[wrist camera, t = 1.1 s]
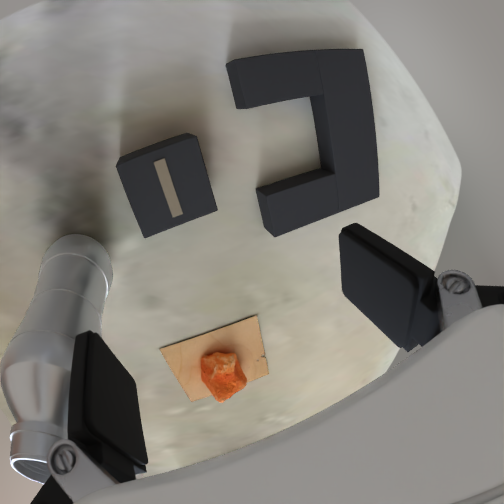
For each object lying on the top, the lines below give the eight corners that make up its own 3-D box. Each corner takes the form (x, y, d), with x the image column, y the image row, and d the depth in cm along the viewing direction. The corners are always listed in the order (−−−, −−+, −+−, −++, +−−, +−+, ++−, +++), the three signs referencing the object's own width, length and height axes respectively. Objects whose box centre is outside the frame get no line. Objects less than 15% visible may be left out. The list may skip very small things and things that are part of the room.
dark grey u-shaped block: (225, 64, 21) (234, 59, 19) (347, 51, 23) (363, 48, 21) (264, 227, 29) (274, 237, 27) (365, 190, 32) (379, 197, 30)
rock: (256, 314, 34) (271, 337, 30) (268, 373, 40) (281, 394, 37) (159, 348, 31) (164, 376, 28) (191, 401, 37) (198, 425, 34)
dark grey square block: (119, 157, 21) (115, 165, 18) (188, 132, 22) (196, 135, 19) (143, 220, 24) (144, 239, 21) (206, 196, 26) (218, 211, 22)
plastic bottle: (41, 231, 21) (-49, 430, 4) (109, 221, 23) (87, 443, 7) (57, 292, 24) (26, 491, 7) (120, 284, 26) (137, 495, 10)
